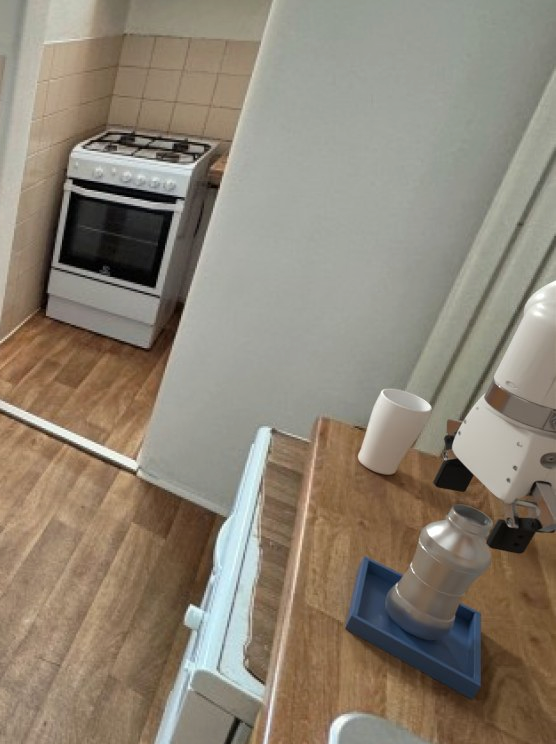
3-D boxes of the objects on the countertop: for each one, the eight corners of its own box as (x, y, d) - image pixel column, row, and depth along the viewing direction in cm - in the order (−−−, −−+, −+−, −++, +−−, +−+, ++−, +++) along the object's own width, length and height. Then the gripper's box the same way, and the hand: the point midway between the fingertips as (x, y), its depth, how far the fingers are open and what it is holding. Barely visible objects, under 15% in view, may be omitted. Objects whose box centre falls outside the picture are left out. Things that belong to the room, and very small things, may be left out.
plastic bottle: (450, 630, 82) (516, 520, 74) (436, 658, 78) (504, 546, 71) (388, 593, 87) (444, 487, 79) (373, 618, 83) (430, 509, 76)
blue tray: (358, 567, 91) (364, 555, 90) (473, 625, 83) (481, 612, 82) (344, 628, 82) (351, 615, 81) (472, 700, 74) (480, 686, 73)
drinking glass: (342, 452, 114) (370, 387, 109) (378, 453, 114) (408, 388, 109) (372, 478, 108) (403, 411, 103) (410, 480, 108) (444, 412, 102)
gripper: (650, 465, 60) (571, 585, 66) (517, 368, 75) (464, 473, 82) (554, 450, 62) (486, 568, 68) (444, 359, 77) (397, 462, 84)
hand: (474, 516), depth 75 cm, fingers open, 9 cm apart
